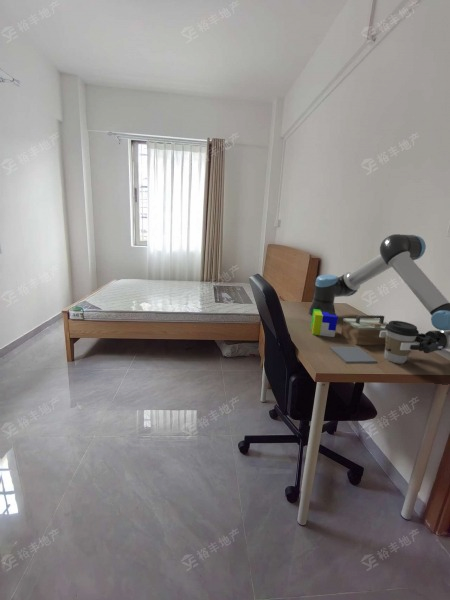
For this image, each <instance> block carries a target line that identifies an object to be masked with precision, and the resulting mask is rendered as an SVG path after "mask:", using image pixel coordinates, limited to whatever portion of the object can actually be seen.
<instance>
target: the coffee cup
mask: <svg viewBox="0 0 450 600" xmlns="http://www.w3.org/2000/svg"><path fill="white" fill-rule="evenodd" d="M385 329H386V341H385V345H384V358H385V360H386V361H389V362H391V363H394V364H405V362H406V361H407V360H408V357H409V356H410V352H411V350H400V347H401V343H415V342H414V341H415V338H416V336H418V335H419V334H420V331H419V330H418V327H417V326H416V325H415V324H412V323H411V322H406V321H402V320H390V321H389V322H388V324H387V325H386V327H385ZM418 333H419V334H418Z"/></svg>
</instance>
